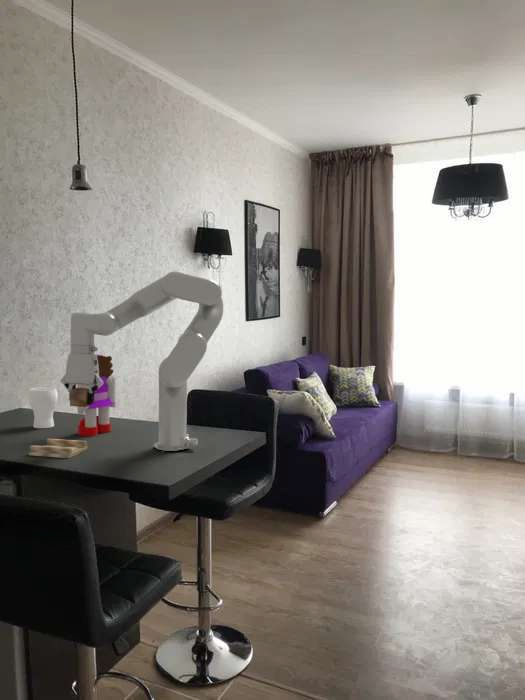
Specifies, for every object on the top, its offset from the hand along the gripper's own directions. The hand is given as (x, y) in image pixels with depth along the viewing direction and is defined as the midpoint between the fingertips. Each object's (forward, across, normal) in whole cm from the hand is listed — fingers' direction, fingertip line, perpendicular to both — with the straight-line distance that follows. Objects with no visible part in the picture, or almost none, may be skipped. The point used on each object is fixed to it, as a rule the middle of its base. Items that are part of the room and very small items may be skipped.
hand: (81, 403), depth 189 cm
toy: (+16, +8, -25) cm, 31 cm away
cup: (+16, +32, -29) cm, 46 cm away
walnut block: (+1, 0, 0) cm, 1 cm away
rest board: (+16, +6, +4) cm, 17 cm away
